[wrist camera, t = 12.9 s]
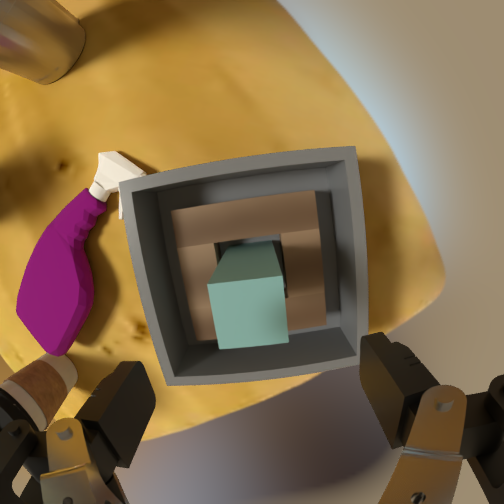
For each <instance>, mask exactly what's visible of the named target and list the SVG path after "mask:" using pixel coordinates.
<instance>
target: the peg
mask: <svg viewBox="0 0 504 504" xmlns="http://www.w3.org/2000/svg"><path fill="white" fill-rule="evenodd" d="M207 286H208V292H209V298H210V303H211V309H212V314H213V319H214V325H215V330H216V335H217V340H218V345H219V349H231V348H242V347H253V346H262V345H272V344H280V343H288V342H289V338H288V327H287V316H286V306H285V295H284V285H283V276H282V272H281V269H280V266H279V263H278V259H277V256H276V253H275V250H274V246H273V243H272V240H269V241H260V242H252V243H244V244H236V245H229V246H228V247H227V249H226V251H225V253H224V255H223V256H222V258H221V260H220V262H219V264H218V265H217V267H216V269H215V271H214V273H213V275H212V276H211V278H210V280H209V282H208V284H207Z"/></svg>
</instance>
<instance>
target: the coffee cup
mask: <svg viewBox="0 0 504 504" xmlns="http://www.w3.org/2000/svg"><path fill="white" fill-rule="evenodd" d="M77 379H78V374H77V370H76V368H75V366H74V364H73V363H72V361H71V360H70V359H69V358H68V357H67V356H66V355H65V354H64V355H62V356H59V357H57V356H54V355H51V354H49V353H46V354H44V355H43V356H41V357H40V358H38V359H37V360H35V361H33V362H32V363H30V364H29V365H27V366H26V367H24V368H22V369H21V370H19V371H18V372H16V373H15V374H13V375H12V376H10V377H9V378H7V379H6V380H4V381H3V384H1V385H0V432H1V431H2V429H3V428H4V427H5V426H6V425H7V424H8V423H10V422H12V421H14V420H18V419H23V420H26V421H27V422H28V423H29V424H30V426H31V427H32V429H33V430H34V431H44V430H46V429H47V427H48V426H49V424H50V422H51V420H52V419H53V417H54V416H55V414H56V413H57V411H58V409H59V408H60V406H61V405H62V403H63V402H64V400H65V398H66V397H67V395H68V393H69V392H70V391H71V389H72V388H73V386H74V385H75V383H76V382H77Z"/></svg>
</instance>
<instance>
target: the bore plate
mask: <svg viewBox="0 0 504 504" xmlns="http://www.w3.org/2000/svg"><path fill="white" fill-rule="evenodd" d="M171 216H172V222H173V228H174V234H175V240H176V245H177V251H178V256H179V261H180V267H181V272H182V277H183V281H184V286H185V291H186V296H187V300H188V305H189V309H190V314H191V318H192V322H193V327H194V331H195V335H196V339H197V341H201V340H214V339H217V335H216V330H215V325H214V319H213V314H212V309H211V303H210V298H209V292H208V286H207V284H208V282H209V280H210V278H211V276H212V275H213V273H214V271H215V269H216V267H217V265H218V264H219V262H220V260H221V258H222V257H221V251H220V245H219V242H224V241H231V240H238V239H245V238H252V237H260V236H267V235H274V234H279V238H280V246H281V254H282V262H283V270H284V278H285V287H284V295H285V306H286V316H287V327H288V331H291V330H298V329H305V328H311V327H317V326H323V325H327V322H326V304H325V289H324V276H323V264H322V253H321V242H320V232H319V223H318V214H317V206H316V198H315V190H308V191H300V192H291V193H283V194H275V195H268V196H260V197H253V198H246V199H239V200H232V201H226V202H219V203H213V204H207V205H201V206H195V207H189V208H183V209H178V210H173V211H171Z"/></svg>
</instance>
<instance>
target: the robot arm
mask: <svg viewBox="0 0 504 504" xmlns="http://www.w3.org/2000/svg"><path fill="white" fill-rule="evenodd" d="M85 37H86V36H85V31H84V29H83V28H82V27H81V26H80V25H79V20H78V19H77V18H76V17H75V16H74V15H72V14H71V13H70V12H69V11H68V10H66V9H65V8H64V7H63V6H62V5H60V4H59V3H58V2H57V1H56V0H0V68H1V69H4V70H7V71H9V72H12V73H14V74H17V75H19V76H22V77H24V78H27V79H29V80H32V81H34V82H36V83H39V84H44V85H45V84H50V83H52V82H54V81H56V80H58V79H59V78H61V77H62V76H63V75H64V74H65V73H66V72H67V71H68V70H69V69H70V68H71V67H72V66H73V64H74V63H75V62H76V60H77V59H78V57H79V56H80V54H81V52H82V49H83V47H84V43H85ZM359 372H360V381H361V385H362V387H363V390H364V391H365V394H366V395H367V398H368V400H369V402H370V404H371V406H372V408H373V410H374V412H375V414H376V416H377V418H378V420H379V422H380V425H381V427H382V429H383V431H384V433H385V435H386V437H387V440H388V442H389V444H390V445H391V448H392V449H395V448H398V447H401V446H404V449H403V451H402V453H401V455H400V458H399V460H398V463H397V465H396V467H395V470H394V472H393V474H392V476H391V478H390V481H389V483H388V485H387V487H386V489H385V491H384V493H383V495H382V497H381V499H380V501H379V502H378V504H451V503H452V500H453V497H454V493H455V490H456V486H457V482H458V479H459V474H460V470H461V466H462V460H463V459H467V461H468V463H469V465H470V466H471V468H472V470H473V472H474V474H475V476H476V478H477V480H478V481H479V484H480V486H481V488H482V489H483V492H484V494H485V495H486V498H487V500H488V502H489V504H504V375H500V376H497V377H496V378H494V379H493V380H492V382H491V383H490V386H489V389H488V391H487V392H482V393H476V394H471V395H465V394H464V392H463V391H462V390H460V389H459V388H456V387H454V386H451V385H440V384H439V382H438V381H437V380H436V379H435V378H434V376H433V375H432V374H431V373H430V372H429V371H428V369H427V368H426V367H425V366H424V365H423V364H422V363H421V362H420V360H419V359H418V358H417V357H415V354H414V353H413V352H412V351H411V350H410V349H409V348H408V347H407V346H405V345H403V344H401V343H399V342H394V343H391V342H390V341H389V339H388V338H387V337H386V336H385V335H384V333H383V332H378V333H374V334H369V335H365V336H362V337H361V340H360V371H359ZM155 404H156V398H155V393H154V391H153V388H152V386H151V383H150V381H149V378H148V376H147V373H146V370H145V368H144V365H143V364H142V362H140V361H122V362H120V364H119V365H118V366H117V368H116V369H115V370H114V372H113V373H111V374H110V375H108V376H107V377H106V378H104V379H103V380H102V381H101V382H100V383H99V385H98V386H97V387H96V390H94V391H93V393H92V394H91V397H89V398H88V399H87V401H86V402H85V403H84V405H83V406H82V408H81V409H80V410H79V412H78V413H77V414H76V416H75V417H74V418H63V419H60V420H58V421H56V422H54V423H53V424H52V425H51V426H50V427H49V428H48V430H47V431H34V430H33V429H32V427H31V426H30V424H29V423H28V422H27V421H26V420H23V419H18V420H14V421H12V422H10V423H8V424H7V425H6V426H5V427H4V428H3V429H2V431H1V432H0V504H129V502H128V500H127V498H126V496H125V493H124V491H123V489H122V487H121V484H120V482H119V479H118V477H117V475H116V474H115V473H114V470H115V467H116V466H117V467H123V468H129V467H130V464H131V462H132V459H133V457H134V455H135V452H136V450H137V448H138V445H139V443H140V441H141V438H142V436H143V434H144V431H145V429H146V427H147V425H148V422H149V420H150V418H151V415H152V413H153V411H154V409H155ZM22 465H23V466H24V467H25V468H26V469H27V471H28V472H29V473H30V474H31V475H32V476H31V478H30V480H29V482H28V483H27V485H26V487H25V488H24V490H23V492H22V494H21V496H20V498H19V497H18V496H17V495H16V494H15V493H14V491H13V489H12V481H13V479H14V478H15V476H16V475H17V473H18V471H19V470H20V468H21V466H22Z"/></svg>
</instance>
